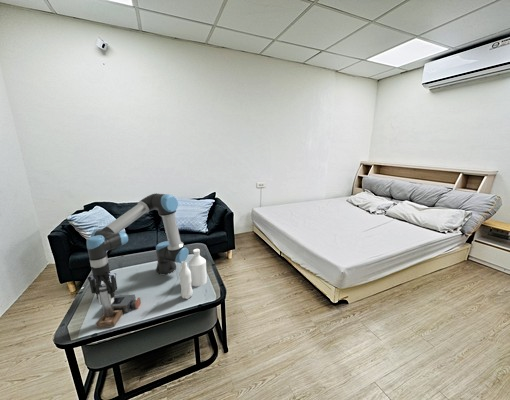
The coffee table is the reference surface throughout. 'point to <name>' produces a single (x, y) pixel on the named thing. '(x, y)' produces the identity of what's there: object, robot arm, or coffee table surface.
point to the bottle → (198, 269)
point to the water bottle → (185, 281)
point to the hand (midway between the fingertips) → (107, 302)
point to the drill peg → (105, 301)
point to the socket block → (122, 302)
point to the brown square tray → (109, 319)
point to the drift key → (135, 303)
